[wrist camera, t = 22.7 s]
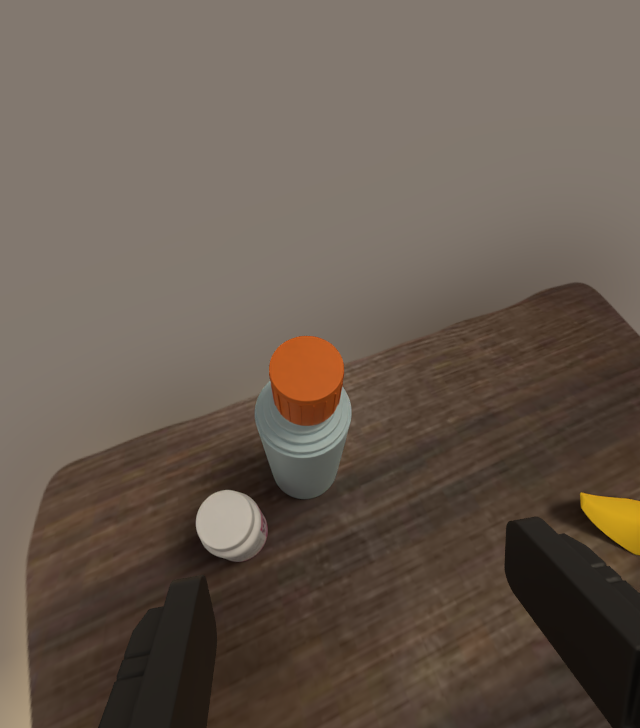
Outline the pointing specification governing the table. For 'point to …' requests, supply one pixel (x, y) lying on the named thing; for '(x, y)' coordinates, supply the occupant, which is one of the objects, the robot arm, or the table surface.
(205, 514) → the pill bottle
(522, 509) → the table surface
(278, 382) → the cap
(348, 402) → the water bottle
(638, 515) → the banana peel
